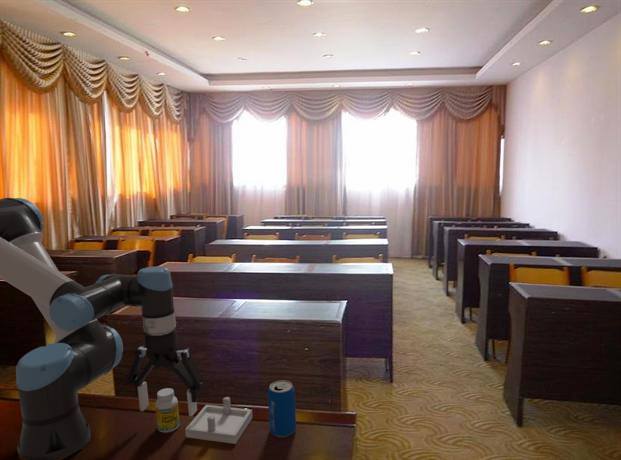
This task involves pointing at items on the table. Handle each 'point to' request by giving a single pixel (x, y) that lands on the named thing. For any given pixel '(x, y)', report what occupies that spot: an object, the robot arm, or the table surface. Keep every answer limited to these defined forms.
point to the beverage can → (282, 408)
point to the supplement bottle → (167, 411)
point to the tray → (219, 423)
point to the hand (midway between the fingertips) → (168, 410)
